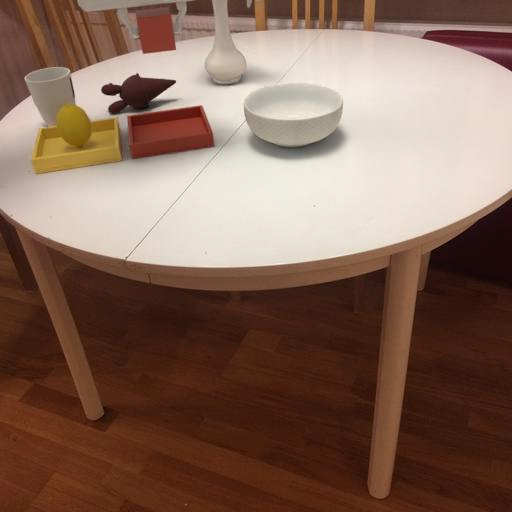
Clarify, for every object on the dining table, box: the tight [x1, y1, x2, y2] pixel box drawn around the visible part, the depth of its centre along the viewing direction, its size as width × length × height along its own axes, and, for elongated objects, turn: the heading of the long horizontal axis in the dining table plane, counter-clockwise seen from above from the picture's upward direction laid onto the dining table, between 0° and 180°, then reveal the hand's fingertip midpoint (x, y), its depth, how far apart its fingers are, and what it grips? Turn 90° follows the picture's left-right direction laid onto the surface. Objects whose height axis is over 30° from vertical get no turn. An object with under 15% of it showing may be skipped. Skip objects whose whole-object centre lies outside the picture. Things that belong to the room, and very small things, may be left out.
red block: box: [135, 6, 177, 55], centre depth 79 cm, size 5×5×5 cm
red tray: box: [126, 104, 216, 160], centre depth 95 cm, size 14×13×3 cm
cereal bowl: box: [243, 82, 344, 148], centre depth 90 cm, size 17×17×7 cm
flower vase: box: [204, 0, 261, 85], centre depth 110 cm, size 13×18×25 cm
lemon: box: [57, 103, 92, 148], centre depth 90 cm, size 6×6×8 cm
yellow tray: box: [30, 116, 123, 175], centre depth 92 cm, size 14×13×3 cm
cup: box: [24, 66, 77, 127], centre depth 100 cm, size 8×8×10 cm
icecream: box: [100, 72, 177, 115], centre depth 106 cm, size 7×7×15 cm
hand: (156, 36), depth 79 cm, fingers closed on red block, 5 cm apart
